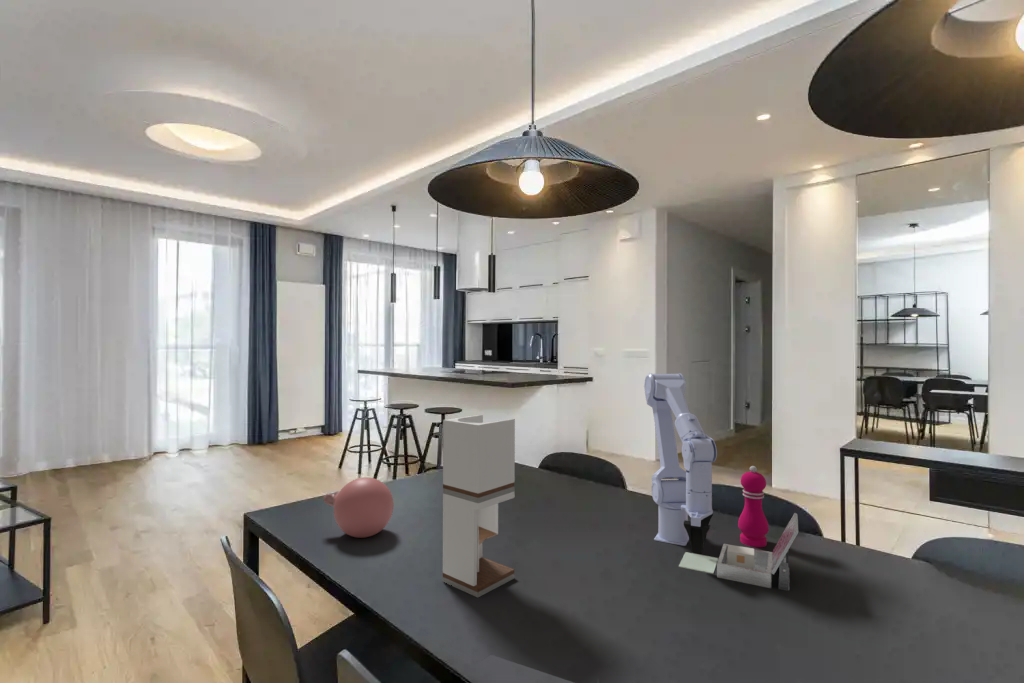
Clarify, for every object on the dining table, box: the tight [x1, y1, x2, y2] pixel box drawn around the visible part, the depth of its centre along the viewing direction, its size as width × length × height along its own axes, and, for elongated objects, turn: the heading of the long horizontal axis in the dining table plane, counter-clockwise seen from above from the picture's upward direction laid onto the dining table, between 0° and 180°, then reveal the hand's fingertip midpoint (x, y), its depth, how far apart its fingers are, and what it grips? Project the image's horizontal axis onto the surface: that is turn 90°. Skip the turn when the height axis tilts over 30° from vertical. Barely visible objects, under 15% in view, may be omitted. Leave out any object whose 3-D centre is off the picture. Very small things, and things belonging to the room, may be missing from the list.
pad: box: [678, 551, 719, 574], centre depth 120 cm, size 9×8×1 cm
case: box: [716, 543, 790, 592], centre depth 115 cm, size 13×14×5 cm
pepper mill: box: [737, 465, 770, 548], centre depth 132 cm, size 7×7×20 cm
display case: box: [442, 414, 516, 599], centre depth 111 cm, size 11×11×35 cm
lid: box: [771, 512, 799, 575], centre depth 112 cm, size 13×11×1 cm
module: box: [727, 544, 755, 569], centre depth 116 cm, size 4×6×4 cm
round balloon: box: [322, 476, 395, 539], centre depth 137 cm, size 15×20×15 cm
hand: (698, 547), depth 120 cm, fingers open, 7 cm apart
